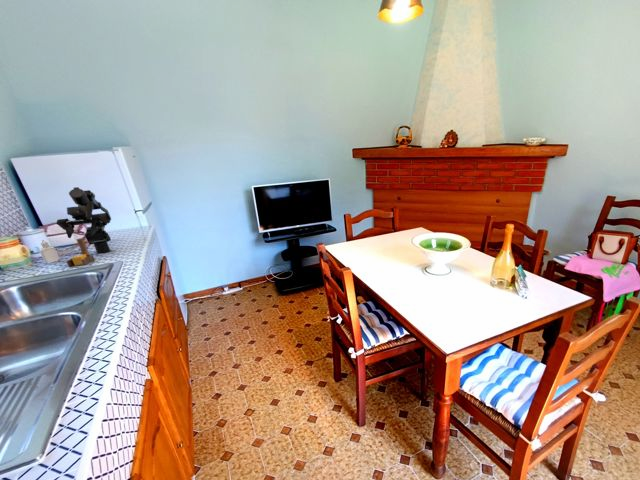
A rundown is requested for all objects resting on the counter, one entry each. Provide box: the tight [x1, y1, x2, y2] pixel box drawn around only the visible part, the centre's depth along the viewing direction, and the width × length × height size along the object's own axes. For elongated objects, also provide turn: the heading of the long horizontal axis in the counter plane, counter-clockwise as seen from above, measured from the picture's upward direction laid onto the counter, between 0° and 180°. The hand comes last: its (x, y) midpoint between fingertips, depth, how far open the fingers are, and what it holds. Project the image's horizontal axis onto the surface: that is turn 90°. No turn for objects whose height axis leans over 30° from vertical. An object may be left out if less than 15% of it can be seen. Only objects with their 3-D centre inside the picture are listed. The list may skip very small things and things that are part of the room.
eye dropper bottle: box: [38, 239, 61, 264], centre depth 150 cm, size 4×6×12 cm
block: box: [71, 254, 87, 265], centre depth 146 cm, size 4×4×4 cm
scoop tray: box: [65, 237, 95, 268], centre depth 145 cm, size 10×7×12 cm
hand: (80, 236), depth 144 cm, fingers open, 9 cm apart
